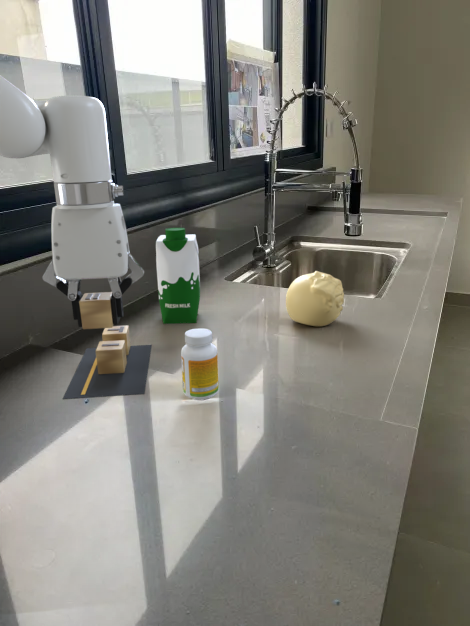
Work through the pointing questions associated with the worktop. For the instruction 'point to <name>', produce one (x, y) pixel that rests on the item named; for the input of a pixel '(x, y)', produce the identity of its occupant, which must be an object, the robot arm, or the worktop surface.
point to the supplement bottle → (199, 365)
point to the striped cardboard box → (96, 310)
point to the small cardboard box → (117, 335)
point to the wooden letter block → (111, 357)
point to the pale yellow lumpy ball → (315, 299)
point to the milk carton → (178, 276)
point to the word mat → (110, 376)
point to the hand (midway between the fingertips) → (99, 321)
